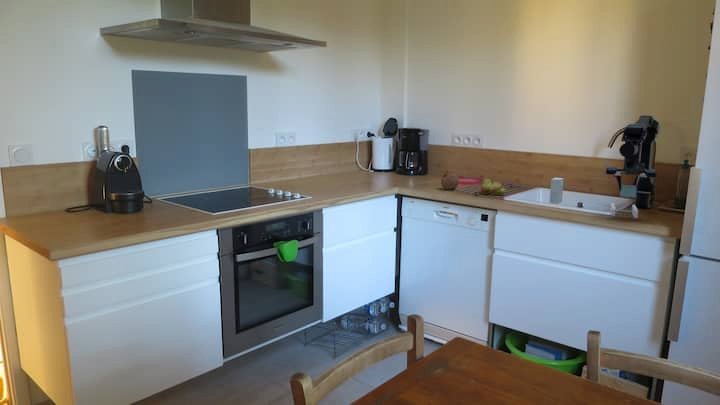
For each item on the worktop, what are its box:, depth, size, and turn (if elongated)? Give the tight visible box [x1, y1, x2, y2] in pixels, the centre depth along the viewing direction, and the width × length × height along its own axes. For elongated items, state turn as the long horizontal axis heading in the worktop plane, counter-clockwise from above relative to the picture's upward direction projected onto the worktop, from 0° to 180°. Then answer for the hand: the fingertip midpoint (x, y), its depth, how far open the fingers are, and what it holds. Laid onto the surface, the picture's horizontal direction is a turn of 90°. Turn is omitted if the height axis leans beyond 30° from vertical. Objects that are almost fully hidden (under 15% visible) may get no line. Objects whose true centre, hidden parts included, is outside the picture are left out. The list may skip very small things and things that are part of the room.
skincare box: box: [548, 177, 565, 205], centre depth 251 cm, size 6×4×12 cm
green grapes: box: [480, 177, 506, 196], centre depth 272 cm, size 13×10×8 cm
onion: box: [440, 173, 459, 191], centre depth 284 cm, size 10×9×10 cm
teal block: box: [619, 184, 637, 199], centre depth 219 cm, size 6×6×4 cm
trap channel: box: [609, 202, 639, 219], centre depth 230 cm, size 15×10×3 cm, turn 157°
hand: (627, 191), depth 219 cm, fingers closed on teal block, 5 cm apart
